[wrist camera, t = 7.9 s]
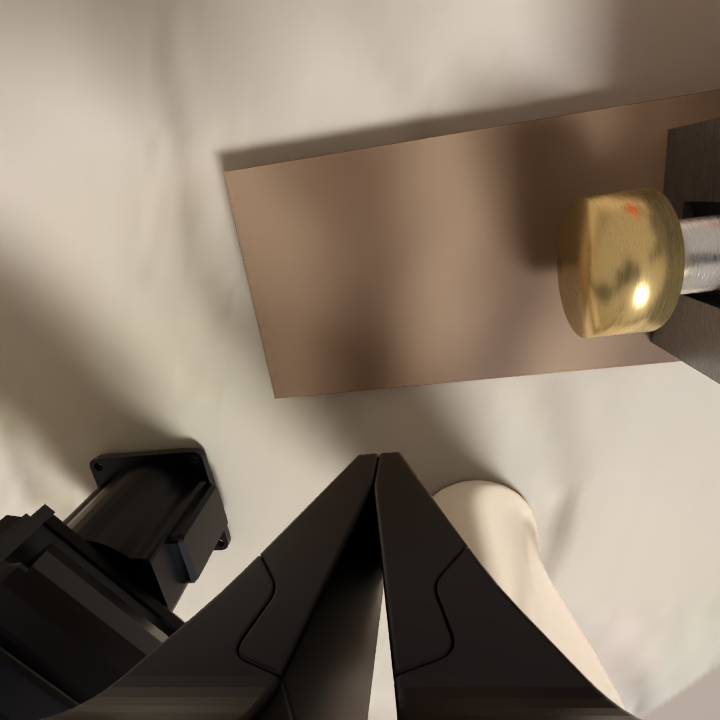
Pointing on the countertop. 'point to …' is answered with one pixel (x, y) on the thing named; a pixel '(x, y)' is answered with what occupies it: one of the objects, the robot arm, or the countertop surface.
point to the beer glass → (519, 566)
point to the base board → (440, 250)
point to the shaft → (632, 261)
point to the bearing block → (694, 199)
